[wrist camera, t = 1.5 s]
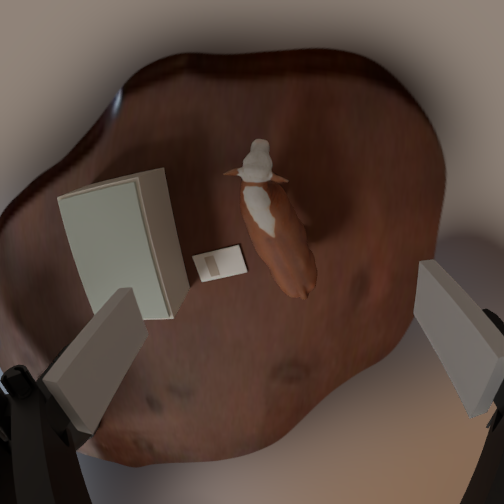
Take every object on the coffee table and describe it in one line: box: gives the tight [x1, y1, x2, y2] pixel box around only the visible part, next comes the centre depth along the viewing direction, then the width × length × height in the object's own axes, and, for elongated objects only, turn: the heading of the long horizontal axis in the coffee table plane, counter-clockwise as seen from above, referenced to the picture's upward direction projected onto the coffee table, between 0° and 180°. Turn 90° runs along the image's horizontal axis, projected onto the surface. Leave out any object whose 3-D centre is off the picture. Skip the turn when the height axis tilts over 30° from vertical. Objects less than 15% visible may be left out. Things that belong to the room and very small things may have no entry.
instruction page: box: [192, 245, 247, 282], centre depth 31 cm, size 5×3×1 cm, turn 106°
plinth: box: [57, 168, 190, 320], centre depth 28 cm, size 9×13×6 cm
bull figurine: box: [223, 139, 317, 300], centre depth 25 cm, size 4×13×8 cm, turn 20°
